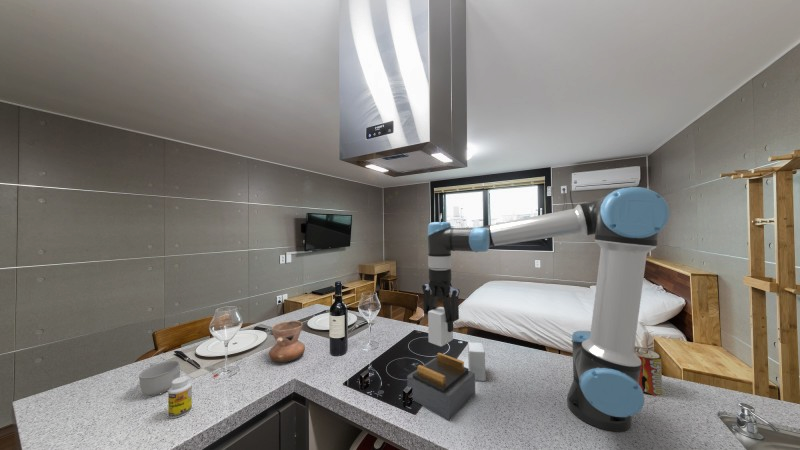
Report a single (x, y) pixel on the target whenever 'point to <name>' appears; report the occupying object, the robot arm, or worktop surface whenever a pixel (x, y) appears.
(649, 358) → the beverage can
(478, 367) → the small box
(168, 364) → the gray oval bowl
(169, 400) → the supplement bottle
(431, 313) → the block
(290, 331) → the ceramic jug
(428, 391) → the grey fixture base
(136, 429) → the worktop surface
